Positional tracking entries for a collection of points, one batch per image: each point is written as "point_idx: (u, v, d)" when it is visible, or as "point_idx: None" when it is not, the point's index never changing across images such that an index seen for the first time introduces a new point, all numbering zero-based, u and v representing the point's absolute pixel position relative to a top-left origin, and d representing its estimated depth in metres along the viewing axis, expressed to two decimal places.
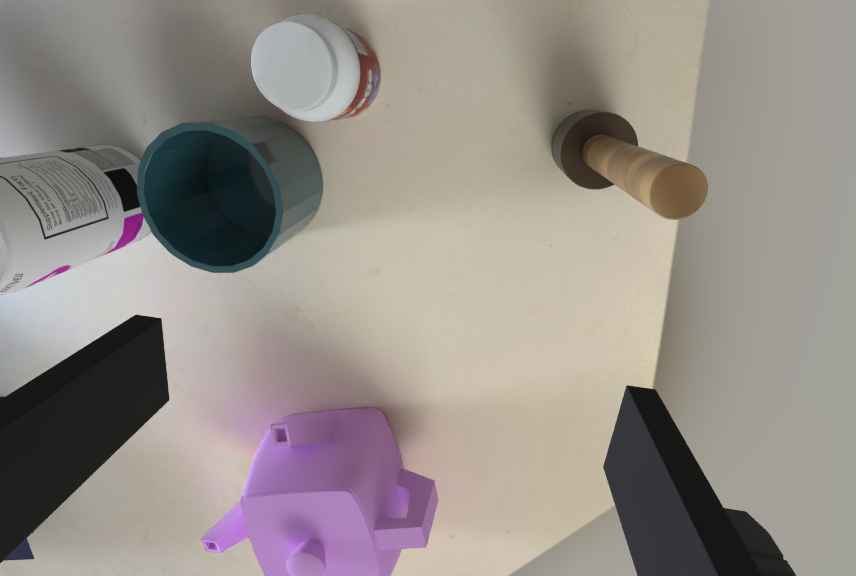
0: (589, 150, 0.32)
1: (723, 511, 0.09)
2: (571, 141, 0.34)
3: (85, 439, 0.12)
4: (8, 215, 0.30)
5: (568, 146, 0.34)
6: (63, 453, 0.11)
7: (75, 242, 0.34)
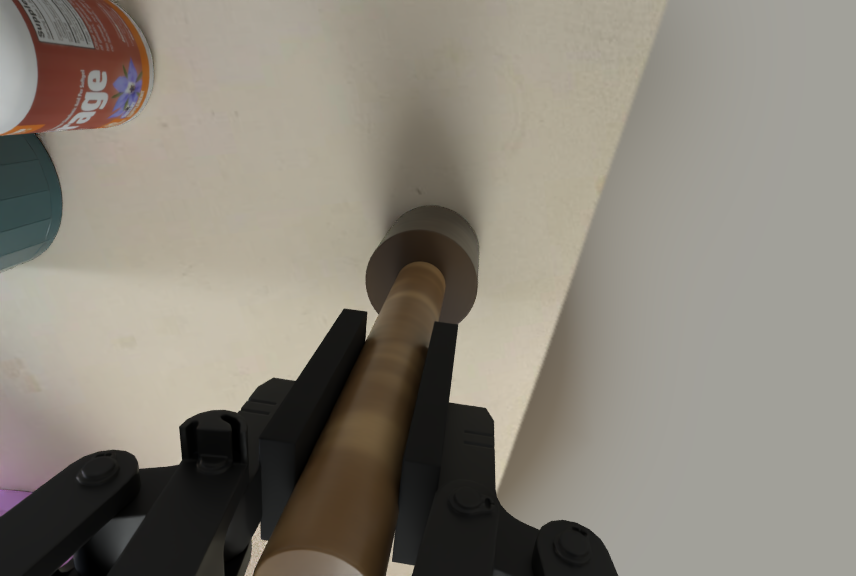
0: (391, 289, 0.20)
1: (447, 399, 0.12)
2: (384, 260, 0.22)
3: None
4: None
5: (378, 265, 0.22)
6: None
7: None
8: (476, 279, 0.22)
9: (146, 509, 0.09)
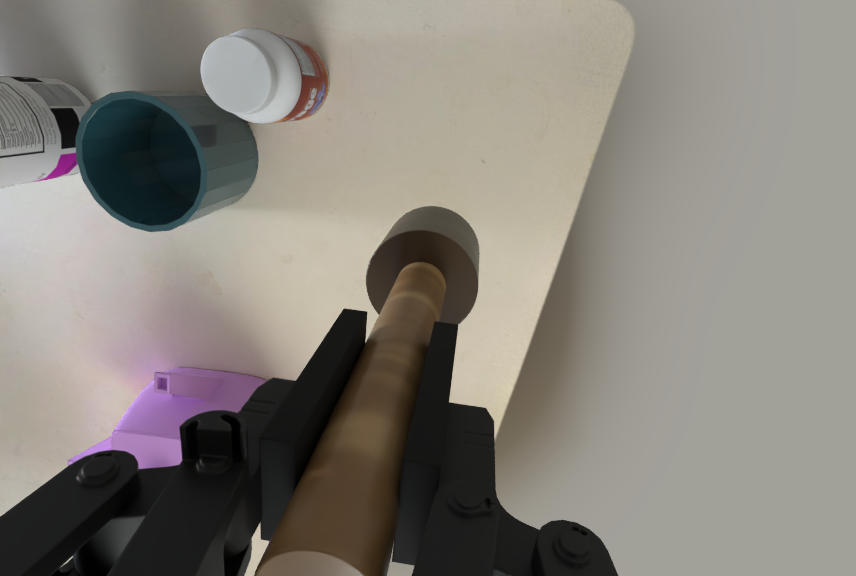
0: (391, 290, 0.20)
1: (447, 399, 0.12)
2: (384, 260, 0.22)
3: None
4: None
5: (378, 266, 0.22)
6: None
7: (6, 168, 0.37)
8: (476, 279, 0.22)
9: (146, 509, 0.09)
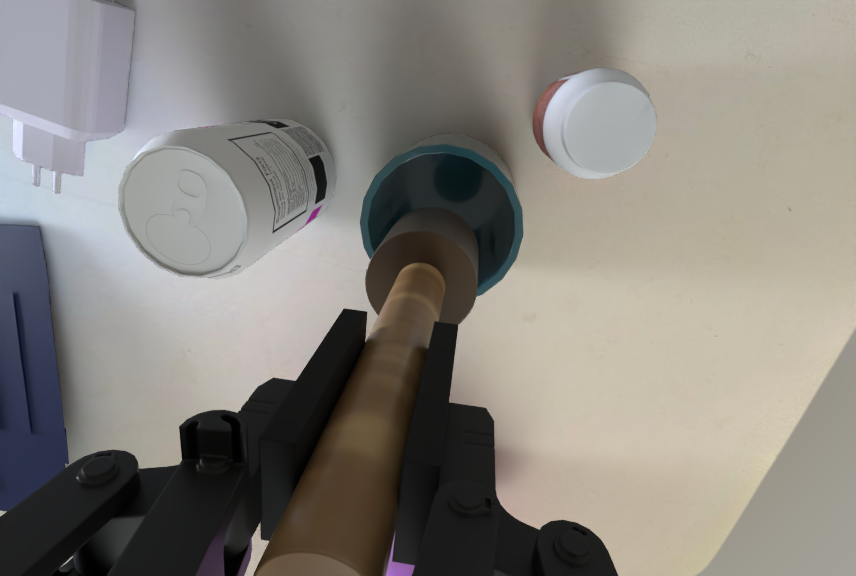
0: (390, 291, 0.20)
1: (447, 399, 0.12)
2: (383, 261, 0.22)
3: None
4: (254, 204, 0.26)
5: (378, 266, 0.22)
6: None
7: (282, 236, 0.31)
8: (476, 280, 0.22)
9: (146, 509, 0.09)
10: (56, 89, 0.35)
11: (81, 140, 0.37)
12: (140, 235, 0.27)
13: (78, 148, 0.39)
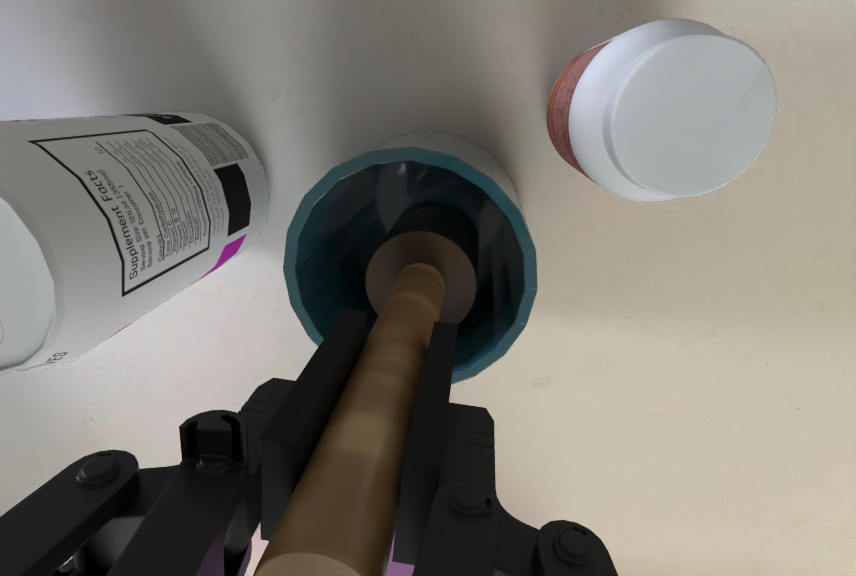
0: (390, 291, 0.20)
1: (447, 399, 0.12)
2: (383, 261, 0.22)
3: None
4: (72, 254, 0.15)
5: (377, 267, 0.22)
6: None
7: (159, 292, 0.20)
8: (475, 280, 0.22)
9: (146, 509, 0.09)
10: None
11: None
12: None
13: None
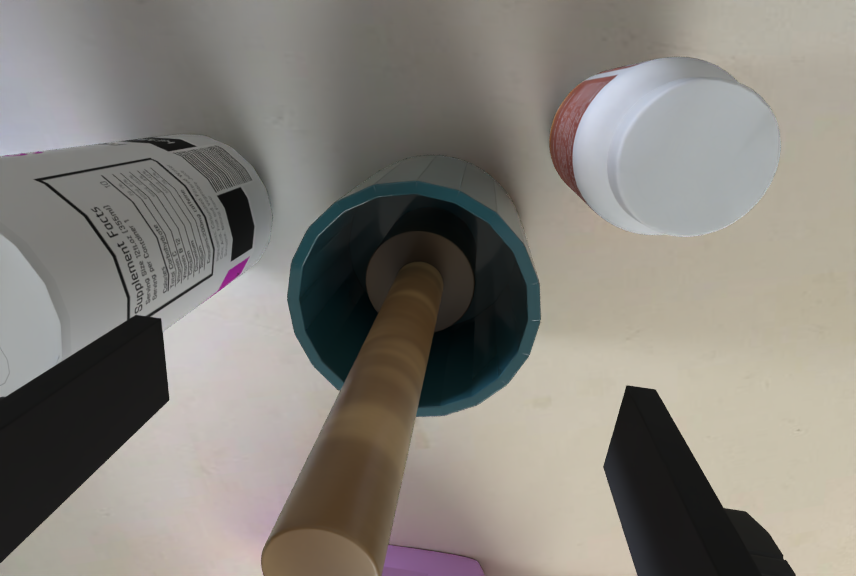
0: (390, 289, 0.21)
1: (723, 511, 0.09)
2: (383, 260, 0.23)
3: (85, 439, 0.12)
4: (78, 293, 0.15)
5: (377, 265, 0.23)
6: (63, 453, 0.11)
7: (163, 322, 0.20)
8: (473, 279, 0.23)
9: None
10: None
11: None
12: None
13: None
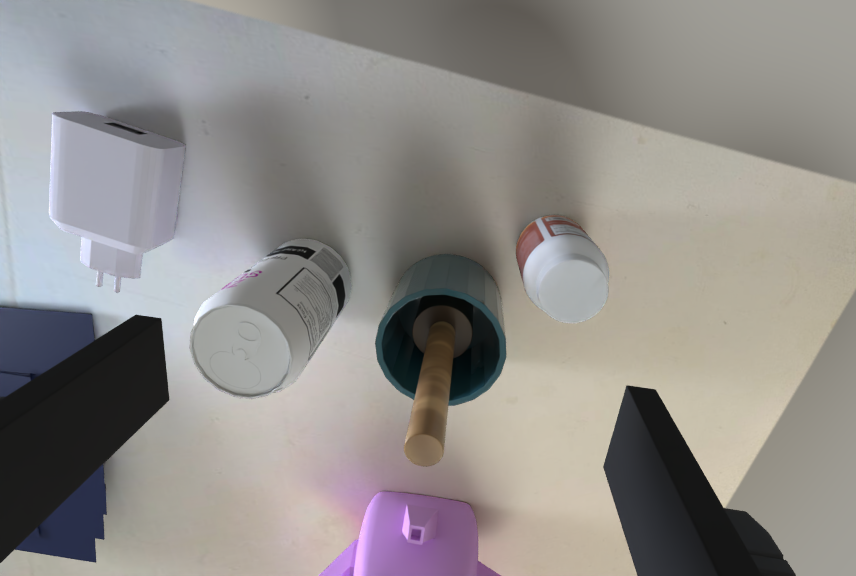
0: (428, 338, 0.40)
1: (723, 511, 0.09)
2: (423, 320, 0.42)
3: (85, 439, 0.12)
4: (297, 345, 0.34)
5: (419, 322, 0.42)
6: (63, 453, 0.11)
7: None
8: (471, 331, 0.42)
9: None
10: (122, 216, 0.42)
11: (142, 253, 0.44)
12: (205, 365, 0.34)
13: (137, 256, 0.46)
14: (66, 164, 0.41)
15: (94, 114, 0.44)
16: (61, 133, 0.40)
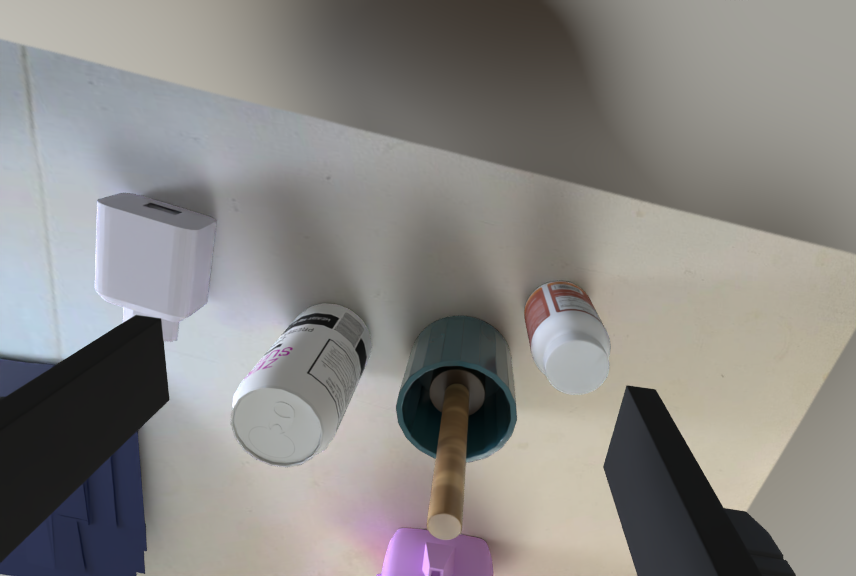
0: (444, 401, 0.43)
1: (723, 511, 0.09)
2: (439, 382, 0.45)
3: (85, 439, 0.12)
4: (327, 420, 0.38)
5: (436, 384, 0.45)
6: (63, 453, 0.11)
7: None
8: (484, 392, 0.45)
9: None
10: (162, 289, 0.46)
11: (179, 321, 0.48)
12: (244, 438, 0.38)
13: (174, 322, 0.49)
14: (110, 245, 0.45)
15: (133, 195, 0.48)
16: (105, 218, 0.44)
